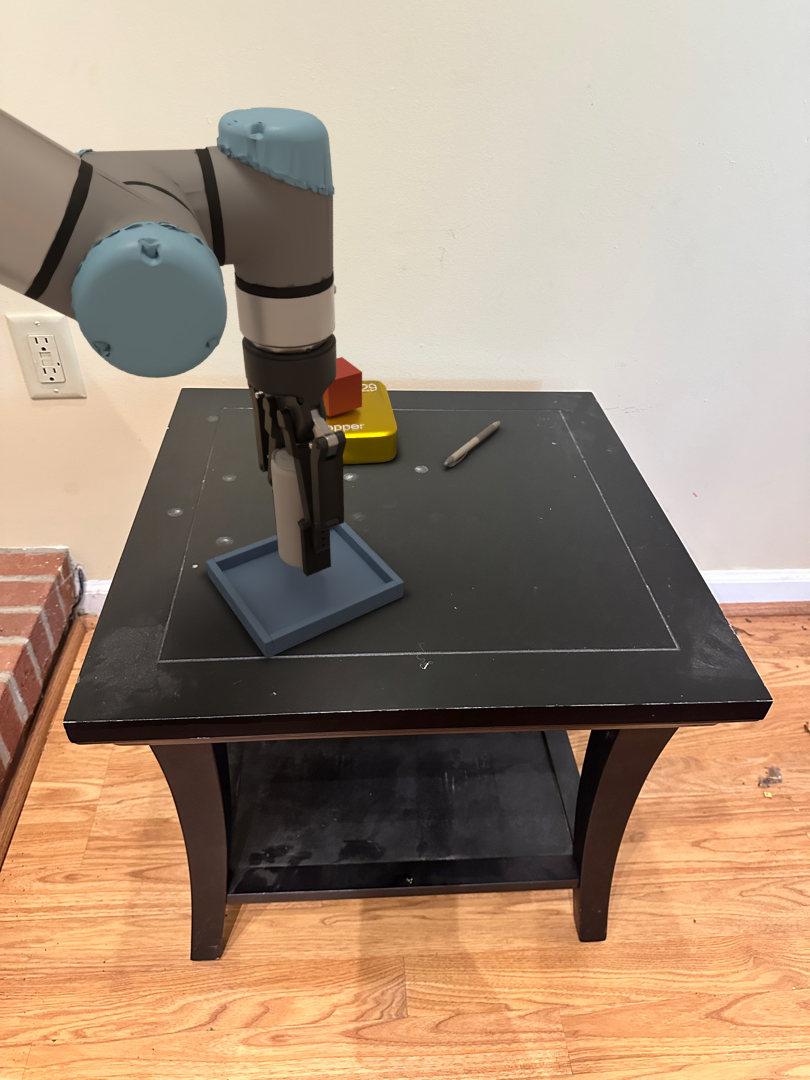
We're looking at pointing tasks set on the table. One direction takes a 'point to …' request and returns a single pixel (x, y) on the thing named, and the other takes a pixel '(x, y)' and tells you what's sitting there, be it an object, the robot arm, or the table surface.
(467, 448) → the pen
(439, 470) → the table surface
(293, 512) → the beverage can
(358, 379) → the red block
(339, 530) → the slate tray
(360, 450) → the element tile
